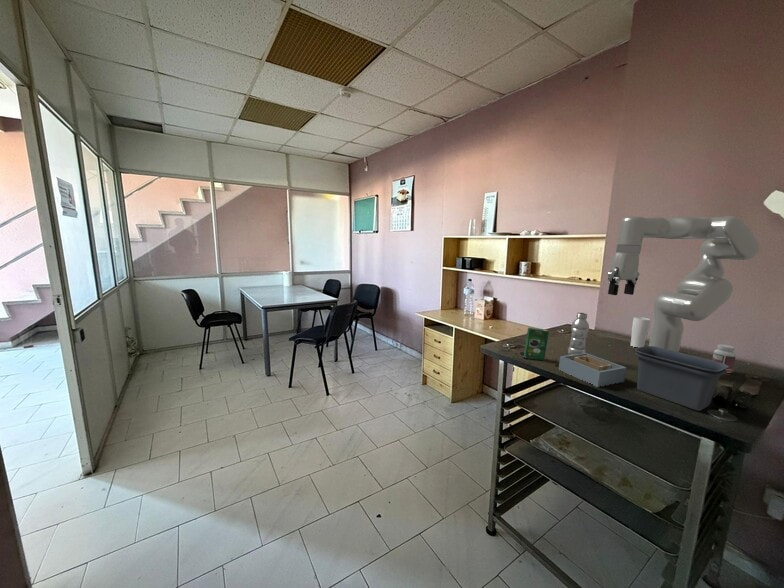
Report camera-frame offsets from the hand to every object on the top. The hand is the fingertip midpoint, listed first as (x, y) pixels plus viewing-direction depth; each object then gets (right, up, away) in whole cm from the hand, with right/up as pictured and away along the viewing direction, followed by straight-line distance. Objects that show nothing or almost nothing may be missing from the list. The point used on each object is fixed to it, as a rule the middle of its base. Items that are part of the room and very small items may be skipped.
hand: (620, 294), depth 122 cm
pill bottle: (+46, -32, +7) cm, 57 cm away
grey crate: (-14, -31, -4) cm, 34 cm away
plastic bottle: (-9, -28, +15) cm, 33 cm away
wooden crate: (-14, -30, -4) cm, 33 cm away
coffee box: (-28, -28, +12) cm, 41 cm away
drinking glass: (+34, -27, +35) cm, 55 cm away
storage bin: (+4, -34, -18) cm, 39 cm away
